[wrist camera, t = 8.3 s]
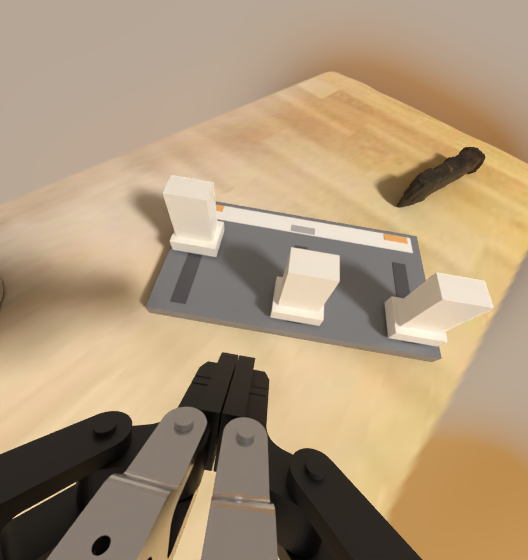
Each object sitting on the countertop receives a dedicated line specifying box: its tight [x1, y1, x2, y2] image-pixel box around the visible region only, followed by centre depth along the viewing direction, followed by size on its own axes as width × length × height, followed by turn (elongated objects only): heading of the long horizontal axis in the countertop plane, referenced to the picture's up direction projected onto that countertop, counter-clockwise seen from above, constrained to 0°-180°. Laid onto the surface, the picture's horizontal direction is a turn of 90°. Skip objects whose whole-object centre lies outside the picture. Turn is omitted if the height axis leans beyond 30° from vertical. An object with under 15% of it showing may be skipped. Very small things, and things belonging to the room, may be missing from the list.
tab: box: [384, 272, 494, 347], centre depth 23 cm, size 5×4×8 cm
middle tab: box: [270, 247, 340, 326], centre depth 24 cm, size 5×4×8 cm
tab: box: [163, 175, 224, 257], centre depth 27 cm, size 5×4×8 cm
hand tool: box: [397, 147, 485, 207], centre depth 40 cm, size 19×4×5 cm, turn 123°
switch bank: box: [145, 202, 441, 362], centre depth 30 cm, size 30×16×2 cm, turn 81°
